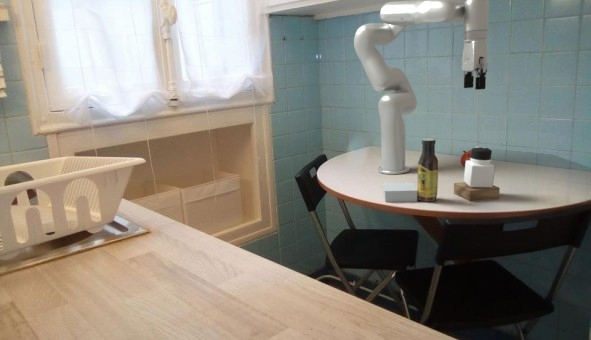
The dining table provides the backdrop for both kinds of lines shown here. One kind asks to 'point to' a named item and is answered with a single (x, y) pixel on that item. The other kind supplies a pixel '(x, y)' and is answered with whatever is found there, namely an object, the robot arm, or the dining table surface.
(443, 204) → the dining table surface
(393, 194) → the grey block
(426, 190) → the sauce bottle
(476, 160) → the medicine bottle
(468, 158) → the pomegranate
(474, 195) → the walnut block
